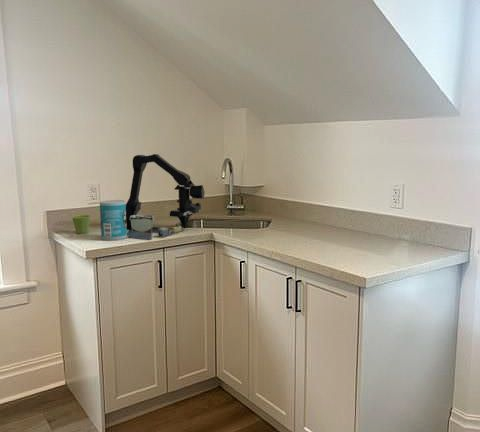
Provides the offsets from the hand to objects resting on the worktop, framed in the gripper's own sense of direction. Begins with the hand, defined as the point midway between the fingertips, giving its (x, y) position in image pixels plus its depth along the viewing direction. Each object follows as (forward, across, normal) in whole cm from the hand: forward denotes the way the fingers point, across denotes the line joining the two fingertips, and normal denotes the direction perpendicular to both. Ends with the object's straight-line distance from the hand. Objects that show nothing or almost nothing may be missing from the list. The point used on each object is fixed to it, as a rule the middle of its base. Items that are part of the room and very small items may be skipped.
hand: (184, 227), depth 254 cm
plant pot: (+2, -29, +44) cm, 52 cm away
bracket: (+1, -19, +9) cm, 21 cm away
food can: (+2, -32, +19) cm, 37 cm away
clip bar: (+1, -7, 0) cm, 8 cm away
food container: (+2, -19, +12) cm, 23 cm away
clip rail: (+1, -13, 0) cm, 13 cm away
